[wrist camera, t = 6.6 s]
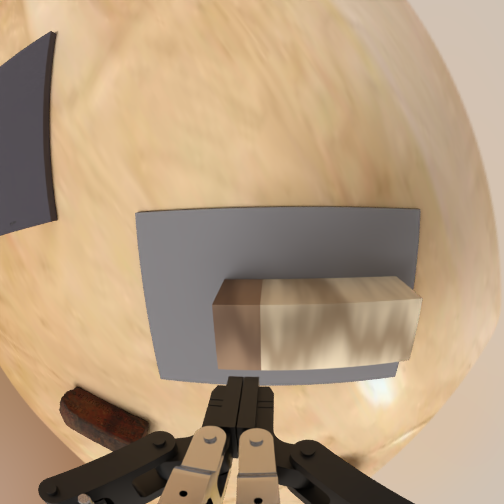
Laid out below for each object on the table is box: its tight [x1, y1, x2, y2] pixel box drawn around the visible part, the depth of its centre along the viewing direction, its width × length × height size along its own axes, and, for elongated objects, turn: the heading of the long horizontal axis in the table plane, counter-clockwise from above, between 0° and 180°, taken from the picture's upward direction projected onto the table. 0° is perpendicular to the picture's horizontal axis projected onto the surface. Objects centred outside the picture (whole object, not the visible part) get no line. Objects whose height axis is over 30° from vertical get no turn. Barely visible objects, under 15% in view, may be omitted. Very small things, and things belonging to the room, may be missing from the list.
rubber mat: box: [135, 207, 420, 385], centre depth 23 cm, size 16×23×1 cm
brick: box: [59, 387, 148, 452], centre depth 26 cm, size 11×4×5 cm, turn 72°
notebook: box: [0, 31, 57, 235], centre depth 21 cm, size 13×2×21 cm
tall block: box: [212, 276, 423, 370], centre depth 21 cm, size 5×5×14 cm
